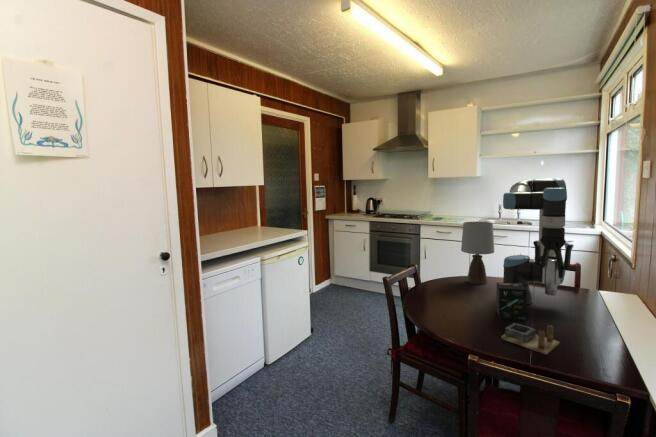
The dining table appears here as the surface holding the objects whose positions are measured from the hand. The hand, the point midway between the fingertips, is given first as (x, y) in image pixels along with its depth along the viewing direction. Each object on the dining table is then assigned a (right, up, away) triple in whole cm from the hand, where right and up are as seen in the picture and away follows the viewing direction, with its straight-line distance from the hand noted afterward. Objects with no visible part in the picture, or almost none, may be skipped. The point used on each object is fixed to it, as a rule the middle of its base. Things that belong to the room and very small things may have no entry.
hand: (551, 283), depth 132 cm
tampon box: (-5, -19, +20) cm, 28 cm away
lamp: (+3, -13, +71) cm, 72 cm away
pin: (0, -4, 0) cm, 4 cm away
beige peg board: (-11, -22, -4) cm, 25 cm away
